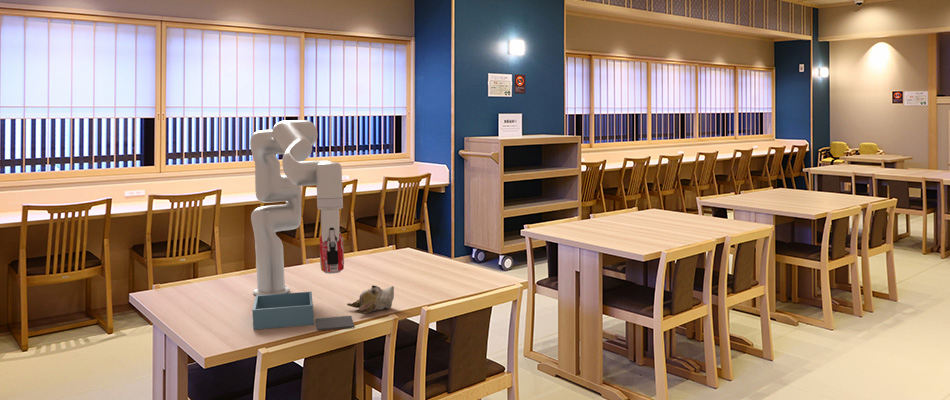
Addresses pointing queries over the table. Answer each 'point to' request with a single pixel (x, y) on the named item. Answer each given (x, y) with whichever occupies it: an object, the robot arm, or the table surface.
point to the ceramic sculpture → (374, 299)
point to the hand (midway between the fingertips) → (332, 261)
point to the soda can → (323, 256)
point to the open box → (282, 310)
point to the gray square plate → (334, 323)
